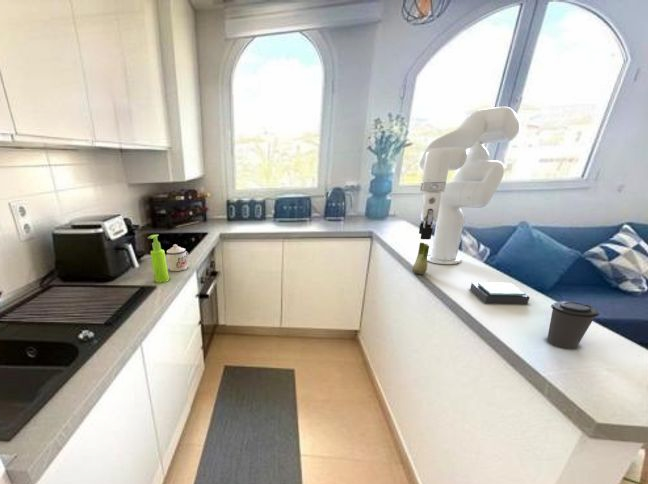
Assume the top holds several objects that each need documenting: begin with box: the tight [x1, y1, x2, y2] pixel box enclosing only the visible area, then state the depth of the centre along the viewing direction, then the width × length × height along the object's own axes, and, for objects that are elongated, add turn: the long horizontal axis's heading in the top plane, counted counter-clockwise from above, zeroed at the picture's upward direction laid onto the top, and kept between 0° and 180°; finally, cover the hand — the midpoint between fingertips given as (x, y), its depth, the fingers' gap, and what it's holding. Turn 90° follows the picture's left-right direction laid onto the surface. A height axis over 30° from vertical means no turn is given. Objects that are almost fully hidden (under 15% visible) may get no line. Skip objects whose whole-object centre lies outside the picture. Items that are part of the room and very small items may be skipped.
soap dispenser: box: [147, 234, 170, 284], centre depth 146 cm, size 6×7×20 cm
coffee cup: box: [546, 301, 600, 350], centre depth 80 cm, size 8×8×10 cm
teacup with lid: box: [165, 243, 189, 272], centre depth 163 cm, size 12×9×12 cm
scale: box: [469, 281, 530, 306], centre depth 108 cm, size 12×11×3 cm
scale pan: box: [477, 282, 527, 295], centre depth 107 cm, size 10×9×1 cm
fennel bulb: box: [412, 242, 430, 275], centre depth 131 cm, size 6×5×12 cm
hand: (424, 236), depth 127 cm, fingers open, 9 cm apart
